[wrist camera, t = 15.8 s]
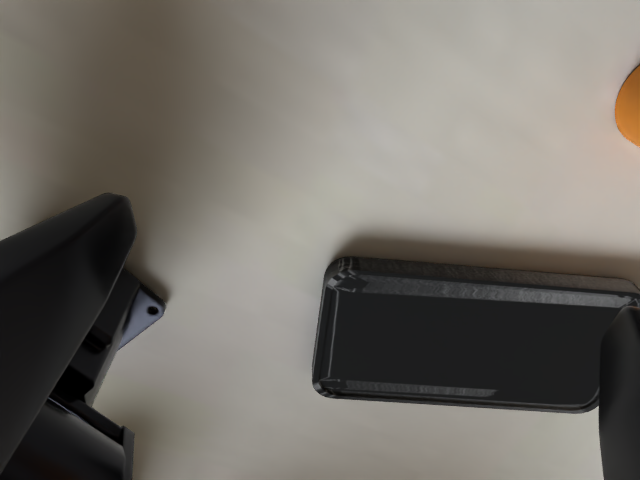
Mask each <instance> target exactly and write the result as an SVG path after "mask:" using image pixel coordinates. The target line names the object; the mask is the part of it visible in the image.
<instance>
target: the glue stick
mask: <svg viewBox="0 0 640 480" xmlns="http://www.w3.org/2000/svg"><path fill="white" fill-rule="evenodd" d="M615 119H616V123H617V127H618V129H619V131H620V132H621V133H622V135H623V136H624V137H625V138H626V139H628V140H629V141H631V142H632V143H634V144H635V145H637V146H638V147H640V66H638V67H637V68H636V69H635V70H634V71H633V72H632V73H631V75H630V76H629V77H628V78H627V80H626V81H625V83H624V84H623V86H622V88H621V90H620V92H619V95H618V97H617V101H616V106H615Z"/></svg>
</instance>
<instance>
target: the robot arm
mask: <svg viewBox="0 0 640 480" xmlns="http://www.w3.org/2000/svg"><path fill="white" fill-rule="evenodd" d="M136 235H137V227H136V223H135V219H134V215H133V211H132V206H131V203H130V200H129V199H128V198H127V197H125V196H122V195H118V194H113V193H104V194H102V195H100V196H97V197H95V198H93V199H91V200H89V201H86V202H84V203H82V204H80V205H78V206H76V207H73V208H71V209H69V210H67V211H65V212H63V213H60V214H58V215H56V216H54V217H52V218H49V219H47V220H45V221H43V222H41V223H39V224H36V225H34V226H32V227H30V228H28V229H25V230H23V231H21V232H19V233H17V234H15V235H12V236H10V237H8V238H6V239H4V240H2V241H0V480H132V471H133V453H134V435H135V434H134V432H132V431H131V430H129V429H128V428H126V427H125V426H121V427H120V426H118V425H117V424H116V423H114V422H113V421H111V420H110V419H108V418H107V417H105V416H104V415H102V414H101V413H99V412H98V411H96V410H95V409H93V408H92V405H93V402H94V400H95V398H96V396H97V394H98V391H99V389H100V387H101V385H102V383H103V381H104V378H105V376H106V374H107V372H108V370H109V367H110V365H111V363H112V361H113V359H114V356H115V354H116V352H117V351H118V350H119V349H120V348H122V347H123V346H124V345H126V344H127V343H128V342H130V341H131V340H132V339H134V338H135V337H136V336H137V335H139V334H140V333H141V332H143V331H144V330H145V329H147V328H148V327H149V326H150V325H152V324H153V323H154V322H156V321H157V320H158V319H160V318H161V317H162V316H163V314H164V312H165V309H166V305H165V302H164V301H163V300H162V299H161V298H159V297H158V296H157V295H156V294H154V293H153V292H152V291H151V290H149V289H148V288H147V287H146V286H144V285H143V284H142V283H141V282H140V281H139V280H138V279H137V278H135V277H134V276H133V275H132V274H130V273H129V272H128V271H127V270H125V269H124V268H123V265H124V263H125V261H126V259H127V257H128V254H129V252H130V250H131V248H132V246H133V244H134V242H135V239H136ZM151 306H154V307H156V308H157V309H158V310H154V309H152V308H151ZM599 436H600V447H601V457H602V466H603V476H604V480H640V308H638V307H633V306H626V307H624V308H622V310H621V311H620V312H619V313H618V315H617V316H616V318H615V319H614V320H613V322H612V323H611V325H610V326H609V328H608V329H607V330H606V332H605V333H604V335H603V337H602V340H601V345H600V382H599Z"/></svg>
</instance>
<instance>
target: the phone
mask: <svg viewBox="0 0 640 480" xmlns="http://www.w3.org/2000/svg"><path fill="white" fill-rule="evenodd" d="M626 306H633V307H638V308H640V290H639V288H638V287H637V286H636V285H635V284H634V283H632V282H631V281H629V280H624V279H616V278H604V277H592V276H580V275H567V274H555V273H543V272H531V271H519V270H507V269H495V268H483V267H471V266H459V265H446V264H434V263H422V262H410V261H398V260H386V259H374V258H362V257H344V258H341V259H338V260H336V261H335V262H333V263H332V264H330V266H329V267H328V268H327V270H326V272H325V275H324V282H323V289H322V296H321V304H320V311H319V318H318V326H317V333H316V341H315V348H314V355H313V363H312V382H313V387H314V389H315V390H316V391H317V392H318V393H319V394H320V395H322V396H325V397H328V398H335V399H351V400H367V401H383V402H399V403H415V404H431V405H446V406H462V407H478V408H494V409H509V410H525V411H541V412H556V413H572V414H578V413H585V412H589V411H591V410H593V409H595V408H596V407H597V406H599V382H600V345H601V340H602V337H603V335H604V333H605V332H606V330H607V329H608V328H609V326H610V325H611V323H612V322H613V320H614V319H615V318H616V316H617V315H618V313H619V312H620V311H621V310H622V308H624V307H626Z"/></svg>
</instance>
